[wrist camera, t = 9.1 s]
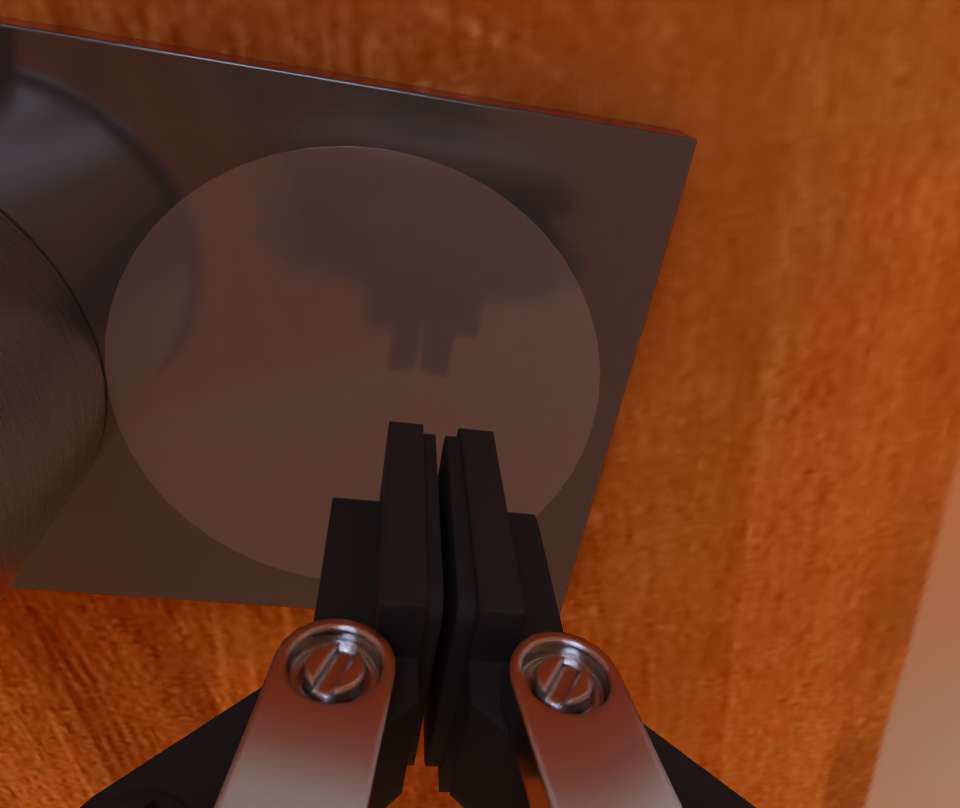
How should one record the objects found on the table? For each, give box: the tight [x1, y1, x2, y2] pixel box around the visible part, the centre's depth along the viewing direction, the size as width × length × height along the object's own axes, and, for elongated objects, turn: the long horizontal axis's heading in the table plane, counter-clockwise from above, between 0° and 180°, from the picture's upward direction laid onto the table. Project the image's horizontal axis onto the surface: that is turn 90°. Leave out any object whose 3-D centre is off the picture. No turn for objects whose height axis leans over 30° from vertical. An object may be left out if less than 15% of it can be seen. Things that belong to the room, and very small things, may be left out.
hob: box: [0, 16, 697, 616], centre depth 15 cm, size 12×22×1 cm, turn 81°
